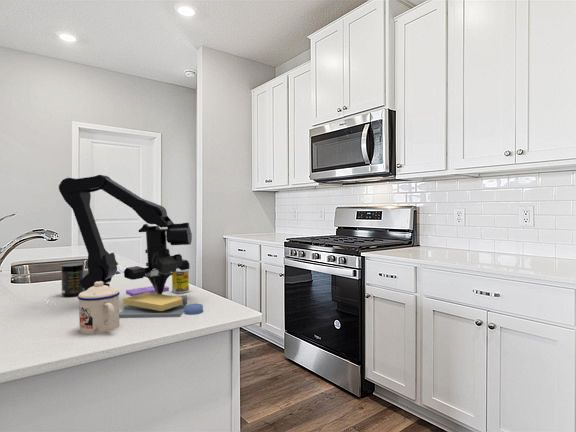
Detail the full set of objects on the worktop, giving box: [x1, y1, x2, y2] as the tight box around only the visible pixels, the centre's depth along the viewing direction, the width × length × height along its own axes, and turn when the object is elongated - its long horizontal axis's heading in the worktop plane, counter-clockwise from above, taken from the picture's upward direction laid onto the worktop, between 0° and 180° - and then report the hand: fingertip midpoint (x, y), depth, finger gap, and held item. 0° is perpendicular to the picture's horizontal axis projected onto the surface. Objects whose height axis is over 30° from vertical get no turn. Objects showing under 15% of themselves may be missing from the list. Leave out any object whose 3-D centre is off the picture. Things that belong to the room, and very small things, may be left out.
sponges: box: [125, 285, 170, 297], centre depth 130 cm, size 7×13×2 cm, turn 132°
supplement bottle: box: [171, 268, 190, 294], centre depth 130 cm, size 6×6×10 cm
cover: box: [122, 292, 188, 311], centre depth 108 cm, size 17×9×2 cm, turn 60°
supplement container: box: [60, 262, 85, 298], centre depth 127 cm, size 7×7×10 cm
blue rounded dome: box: [183, 303, 204, 316], centre depth 104 cm, size 5×5×2 cm
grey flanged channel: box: [119, 304, 187, 319], centre depth 103 cm, size 18×9×1 cm, turn 91°
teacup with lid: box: [77, 281, 120, 335], centre depth 90 cm, size 12×9×12 cm
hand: (159, 296), depth 115 cm, fingers closed
